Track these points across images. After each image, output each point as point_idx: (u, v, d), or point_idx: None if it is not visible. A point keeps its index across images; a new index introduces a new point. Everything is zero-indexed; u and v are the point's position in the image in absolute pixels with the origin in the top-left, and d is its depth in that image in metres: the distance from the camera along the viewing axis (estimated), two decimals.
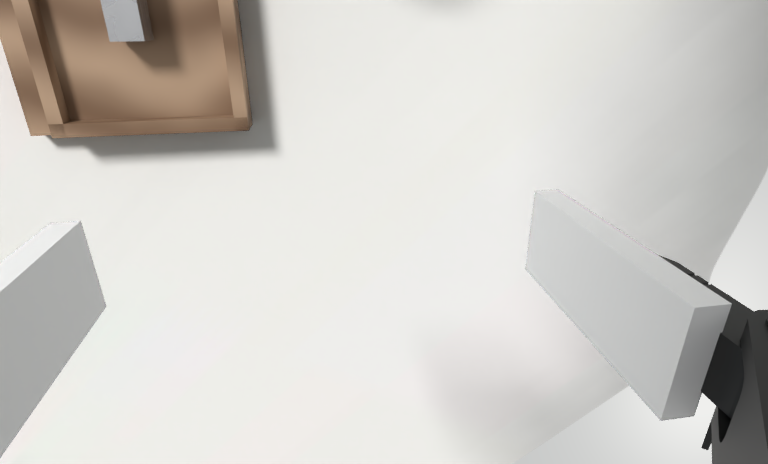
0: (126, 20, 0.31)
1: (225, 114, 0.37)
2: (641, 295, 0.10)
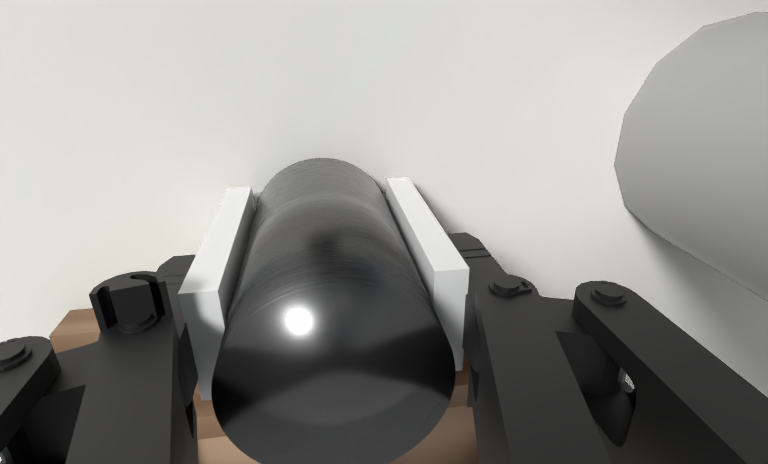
0: None
1: None
2: (420, 265, 0.11)
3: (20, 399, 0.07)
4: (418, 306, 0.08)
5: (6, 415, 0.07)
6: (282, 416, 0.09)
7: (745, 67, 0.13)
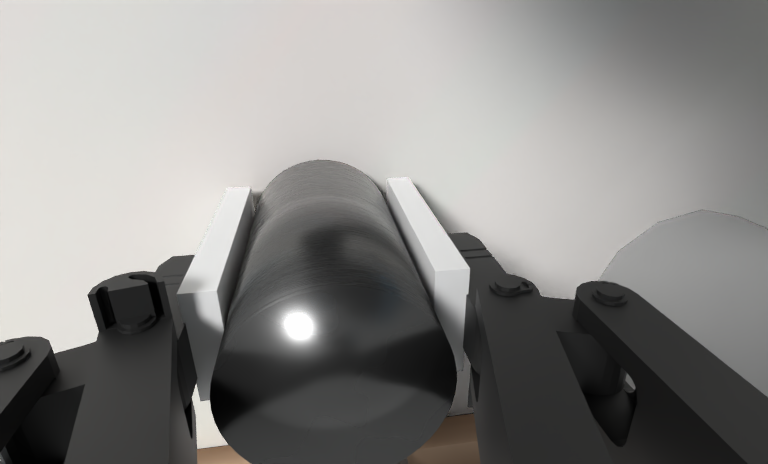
0: None
1: None
2: (421, 265, 0.11)
3: (18, 399, 0.07)
4: (419, 308, 0.08)
5: (4, 415, 0.07)
6: (281, 420, 0.09)
7: (684, 290, 0.16)
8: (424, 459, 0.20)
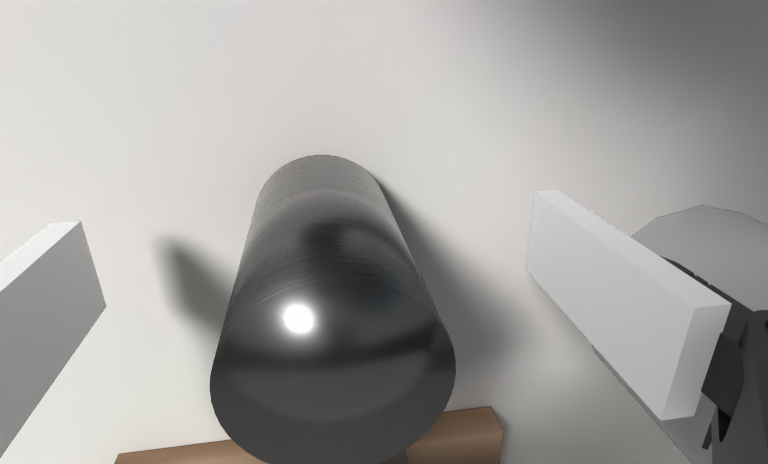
0: None
1: None
2: (641, 295, 0.10)
3: None
4: (417, 301, 0.08)
5: None
6: (282, 412, 0.09)
7: None
8: (423, 454, 0.20)
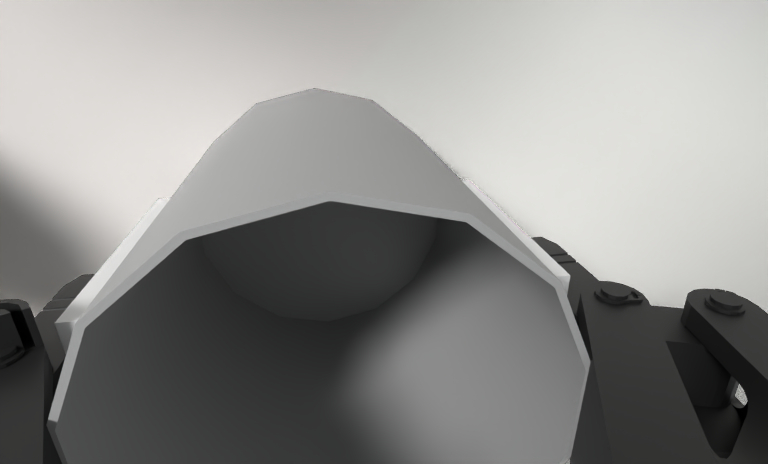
0: None
1: None
2: None
3: None
4: None
5: None
6: None
7: (196, 167, 0.12)
8: None
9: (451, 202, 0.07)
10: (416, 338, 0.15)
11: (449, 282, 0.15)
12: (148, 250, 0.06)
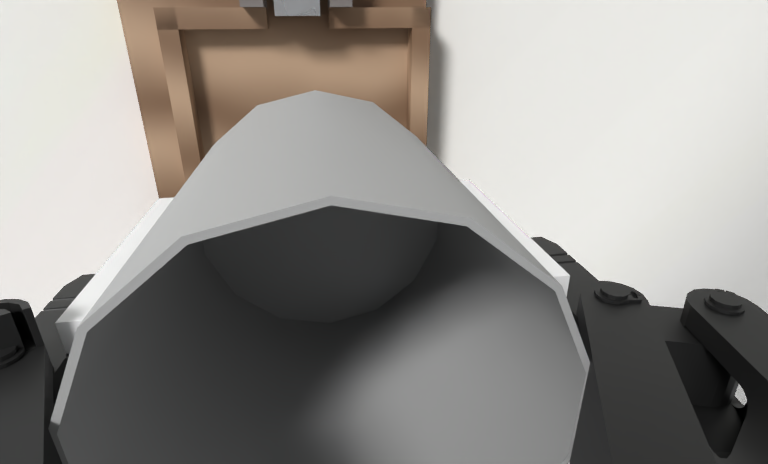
0: None
1: None
2: None
3: None
4: None
5: None
6: None
7: (197, 169, 0.12)
8: None
9: (452, 206, 0.07)
10: (416, 340, 0.15)
11: (449, 284, 0.15)
12: (150, 254, 0.06)
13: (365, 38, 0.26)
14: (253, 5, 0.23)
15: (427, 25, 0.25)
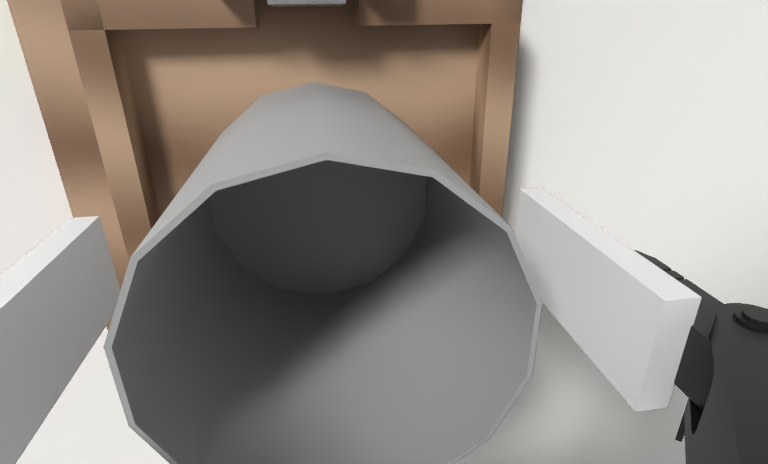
0: None
1: None
2: (617, 290, 0.10)
3: None
4: None
5: None
6: None
7: (211, 150, 0.14)
8: None
9: (422, 163, 0.08)
10: (406, 304, 0.17)
11: (435, 253, 0.17)
12: (184, 203, 0.08)
13: (413, 41, 0.17)
14: None
15: (516, 19, 0.16)
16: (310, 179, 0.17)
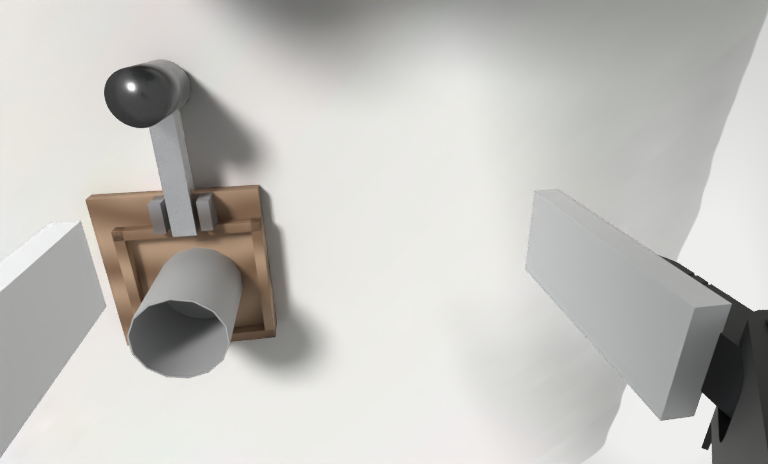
0: (184, 223, 0.45)
1: (258, 324, 0.53)
2: (641, 295, 0.10)
3: None
4: (152, 75, 0.35)
5: None
6: (123, 105, 0.35)
7: (156, 278, 0.45)
8: (222, 198, 0.47)
9: (192, 298, 0.40)
10: None
11: None
12: (143, 306, 0.40)
13: (229, 233, 0.48)
14: (161, 233, 0.45)
15: (259, 230, 0.47)
16: None
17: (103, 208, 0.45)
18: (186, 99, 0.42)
